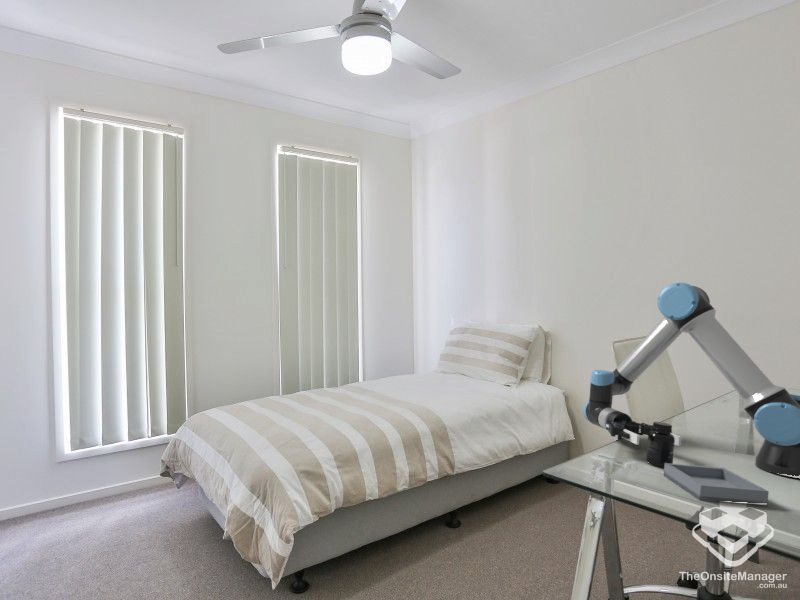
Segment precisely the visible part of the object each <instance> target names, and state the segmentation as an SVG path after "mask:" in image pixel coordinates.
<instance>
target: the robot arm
mask: <svg viewBox="0 0 800 600" xmlns="http://www.w3.org/2000/svg"><path fill="white" fill-rule="evenodd" d="M656 304H657V309H658V310H659V312H660V313H661V314H662V316H663V318H661V320H660V321H659V322H658V323H657V324H656V325H655V327H653V329H651V330H650V331H649V332H648V334H647V335H646V336H645V337H644V338H643V339H642V340H641V342H640V343H638V345H636V347H635V348H634V349H632V351H631V352H630V353H629V354H628V355H627V356H626V357H625V359H624V360H623V361H622V362H620V364H619V365H618V366H617V367H616V368H615V369H614V370H613V371H610V370H605V369H593V370H592V371H591V375H590V387H589V399H588V401H587V402H586V403H585V404H584V406H583V408H582V415H583V417H584V419H585V420H586V421H588V422H589V423H591V424H592V425H595V426H597V427H599V428H602V429H604V430H606V431H608V433H609V434H610V436H611V437H616V436H617V440H620V441H622V440H623V439H624V440H626V441H628V442H630V443H633V444H634V445H638V446H639V445H640V439H641V438H640V436H643V435H645V436H646V435H647V436H648V434H649V432H650V431H653V425H652V424H648V423H644V422H636V421H635V420H634V421H633V420H632V419H633V418H631V416H630V415H629V414H628V413H624V412H623V411H621V410H618V409H615V408H612V406H613V399H614V398H613V397H614V396H619V395H620V396H621V395H624V394H627V392H629V391H630V390H631V387H632V385H633V383H634V382H635V381H636V380H637V379H639V378H640V377H641V376H642V375H643V373H645V371H646V370H647V369H648V368H649V367H650V366H651V365H652V364H653V363H654V362H655V361H656V360H657V359H658V358H659V357H660V356H661V355H662V354H663V353H664V352H665V350H667V349H668V348H669V347H670V346H671V345H672V344H673V343H674V342H675V341H676V340H677V339H678V338H679V337H680V335H682V334H683V333H686V334H688V335H690V336H691V338H692V339H693V340H694V342H695V343H696V345H698V346H699V347H700V349H701V350H702V351H703V353H704V354H705V355H706V356H707V357H708V359H710V361H711V362H712V364H714V366H715V367H716V368H717V369H718V370H719V372H720V373H721V375H723V376H724V378H725V379H726V380H727V382H729V384H730V385H731V387H732V388H734V390H735V391H736V393H738V395H739V396H740V397H741V398H742V400H743V402H744V403H743V410H744V411H745V412H746V413H747V415H748V416H749V418H751V419H752V421H753V424H754V427H755V429H756V431H757V433H759V435H760V436H761V437H762V438H763V443H762V444H761V446H760V449H759V451H758V453H757V455H756V456H755V461H754V463H755V464H754V465H755V466H756V467H757V468H758V469H761V470H763V471H765V470H767V471H766V472H768V471H771V472H774V473H779V474H787V475H792V476H794V475H795V476H799V475H800V395H796V394H791V393H790V392H789V391H788V390H787V389H786V388H785V387H782V386H779V385H775V384H774V383H773V382H772V381H771V380H770V379H769V378H768V377H767V375H766V374H765V373H764V372H763V371H762V370H761V368H760V367H759V366H758V365H757V364H756V363H755V362H754V361H753V359H752V358H751V357H750V356H749V355H748V353H746V351H745V350H744V349H743V348H742V347H741V345H740V344H738V343H737V341H736V340H735V339H734V338H733V337H732V335H731V334H730V333H729V332H728V331H727V330H726V329H725V328H724V326H723V325H722V324H721V323H720V322H719V320H717V318H716V311H717V310H716V308H715V307H713V305H712V304H711V301H710V297H709V295H708V294H707V292H706V291H705V290H704V289H702V288H700V287H698V286H695V285H691V284H689V283H687V282H673V283H671V284H668V285H666V286H665V287H664V288H662V290H660V292H659V293H658V297H657V300H656ZM671 434H672V435H673V436H674V438H675V443H674V446H678V447H682V436H680V435H677V434H675V433H673V431H672V432H671ZM774 473H773V474H774Z"/></svg>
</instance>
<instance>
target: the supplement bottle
mask: <svg viewBox="0 0 800 600" xmlns="http://www.w3.org/2000/svg"><path fill="white" fill-rule="evenodd" d="M652 426H653V431H650V432H649V434H648V435H647V446H646V448H647V449H646V460H647V461H646V460H645V461H646V463H647V462H649V463H650V464H652V465H651V466H653V465H654V466H653V467H656V466H657V468H662V469H664V466H665V463H672V464H674V455H675V454H674V452H675V444H674V443H675V438H674V436H673V435H672V434H673V430H672V429H673V426H672V424H671V423H666V422H662V421H653V422H652ZM671 432H672V434H671ZM649 463H648V464H649ZM650 464H649V465H650Z"/></svg>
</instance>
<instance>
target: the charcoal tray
mask: <svg viewBox="0 0 800 600" xmlns="http://www.w3.org/2000/svg"><path fill="white" fill-rule="evenodd" d="M663 476H664V478H666V477H667V478H666V479H668V480H669V481H671V482H672V483H673V484H675V485H677V486H678V485H679V486H678V487H680V488H681V489H683V490H684V491H686V492H687V493H689V494H690V495H691V496H693V497H694V498H695V499H698V500H699V501H706V502H715V503H717V502H716V501H732V502H748V503H769V490H767V489H765V488H763V487H762V486H759V485H757V484H755V483H754V482H751V481H750V480H747V478H744V477H742V476H740V475H738V474H736V473H734V472H732V471H731V470H729V469H727V468H725V467H717V466H703V465H691V464H681V463H673V464H672V463H665V466H664V468H663Z"/></svg>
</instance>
